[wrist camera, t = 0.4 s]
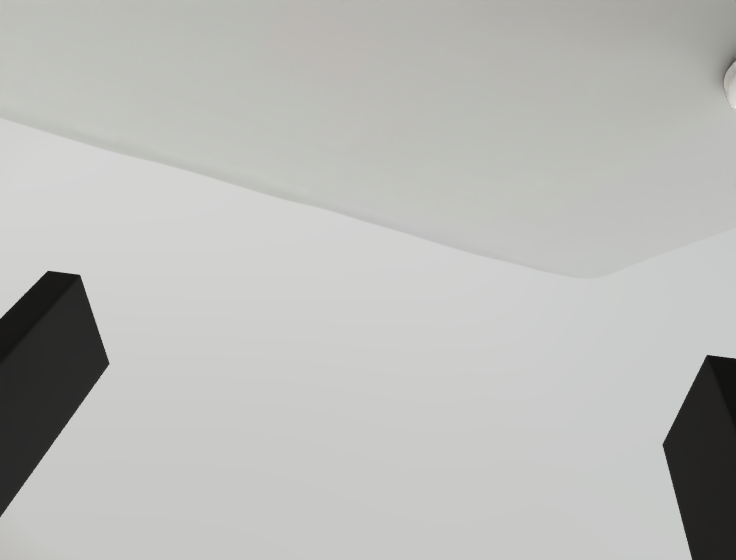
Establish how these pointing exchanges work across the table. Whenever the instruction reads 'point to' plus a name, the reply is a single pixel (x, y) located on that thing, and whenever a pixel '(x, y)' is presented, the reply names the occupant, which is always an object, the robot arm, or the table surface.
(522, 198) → the table surface
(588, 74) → the table surface
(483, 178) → the table surface
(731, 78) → the chess piece
